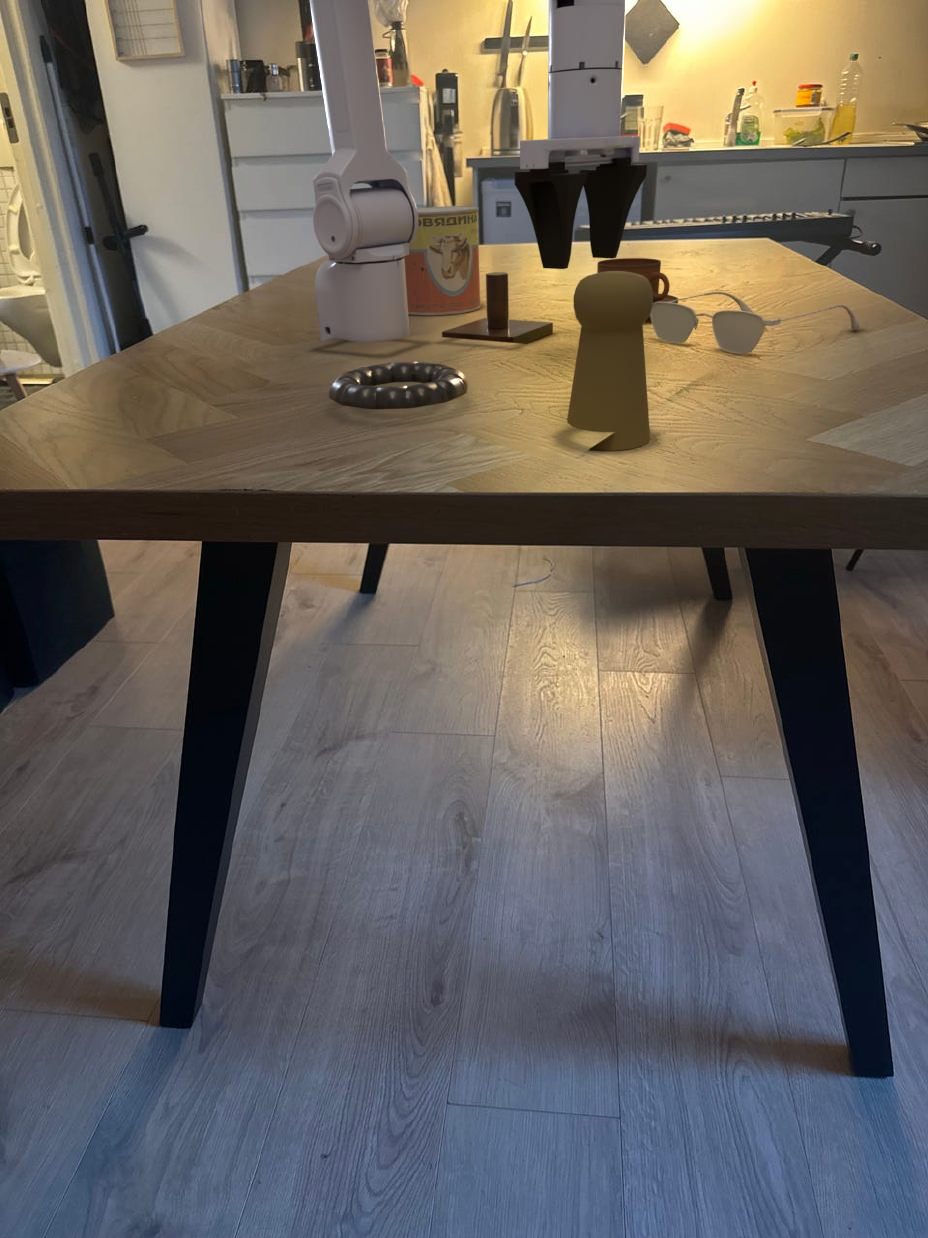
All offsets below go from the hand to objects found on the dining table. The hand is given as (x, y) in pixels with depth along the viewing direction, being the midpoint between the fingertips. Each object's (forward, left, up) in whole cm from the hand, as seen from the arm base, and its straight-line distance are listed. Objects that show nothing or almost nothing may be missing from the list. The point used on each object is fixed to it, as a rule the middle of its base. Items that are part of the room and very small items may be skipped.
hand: (580, 262), depth 72 cm
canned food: (-34, +29, -10) cm, 46 cm away
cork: (+10, -15, -10) cm, 21 cm away
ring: (-9, -14, -8) cm, 19 cm away
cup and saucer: (-8, +31, -10) cm, 33 cm away
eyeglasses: (+9, +25, -10) cm, 28 cm away
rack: (-16, +14, -10) cm, 23 cm away
